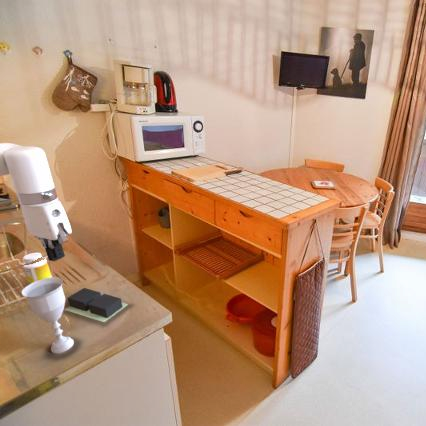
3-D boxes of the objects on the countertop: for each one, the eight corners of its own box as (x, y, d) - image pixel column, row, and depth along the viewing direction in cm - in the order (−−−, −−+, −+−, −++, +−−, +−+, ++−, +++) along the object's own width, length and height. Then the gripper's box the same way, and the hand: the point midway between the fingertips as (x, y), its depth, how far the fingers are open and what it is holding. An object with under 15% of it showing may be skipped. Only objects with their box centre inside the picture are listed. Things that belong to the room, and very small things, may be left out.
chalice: (61, 362, 73) (40, 299, 66) (36, 356, 74) (12, 294, 67) (88, 339, 80) (71, 279, 73) (64, 334, 81) (45, 275, 74)
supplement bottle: (56, 277, 102) (47, 250, 98) (48, 288, 97) (39, 259, 93) (34, 280, 100) (25, 252, 96) (26, 290, 95) (15, 261, 91)
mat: (64, 311, 88) (64, 309, 88) (91, 294, 96) (90, 293, 95) (104, 323, 85) (104, 322, 85) (128, 305, 92) (128, 304, 92)
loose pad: (69, 306, 90) (67, 297, 88) (86, 296, 94) (84, 287, 93) (86, 311, 88) (83, 302, 87) (102, 300, 93) (100, 292, 91)
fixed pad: (90, 312, 88) (87, 304, 87) (106, 301, 92) (104, 293, 91) (107, 318, 86) (105, 309, 85) (122, 306, 91) (120, 298, 90)
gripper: (74, 196, 82) (90, 257, 89) (32, 188, 86) (51, 247, 93) (44, 205, 75) (63, 271, 82) (-1, 196, 79) (22, 260, 86)
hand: (57, 258), depth 88 cm, fingers closed
